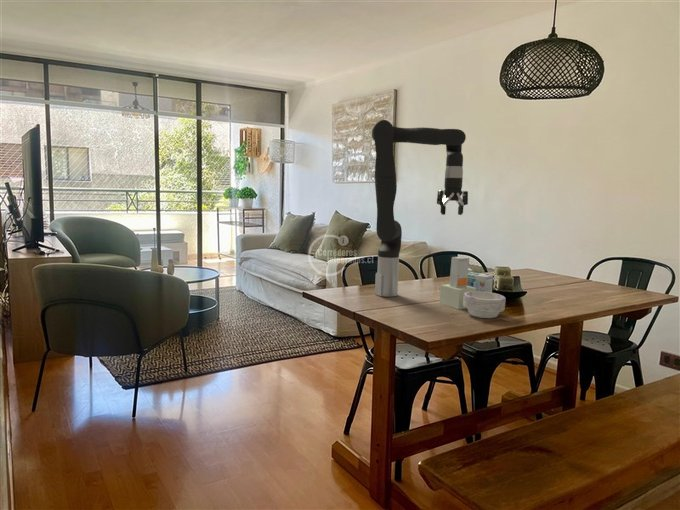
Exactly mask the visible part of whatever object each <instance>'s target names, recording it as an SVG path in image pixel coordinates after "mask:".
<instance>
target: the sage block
mask: <svg viewBox="0 0 680 510" xmlns="http://www.w3.org/2000/svg"><path fill="white" fill-rule="evenodd" d="M439 290H440V291H439V292H440V293H439V304H441V305H443V306H446V307H450V308H453V309H456V310H463V309H466V308H465V307H464V306H463V299H464V293H466V292H470V291H476V288H474V287H470V286H467V287H453V286H450V283H447V284H446V283H445V284H440V289H439Z"/></svg>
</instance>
